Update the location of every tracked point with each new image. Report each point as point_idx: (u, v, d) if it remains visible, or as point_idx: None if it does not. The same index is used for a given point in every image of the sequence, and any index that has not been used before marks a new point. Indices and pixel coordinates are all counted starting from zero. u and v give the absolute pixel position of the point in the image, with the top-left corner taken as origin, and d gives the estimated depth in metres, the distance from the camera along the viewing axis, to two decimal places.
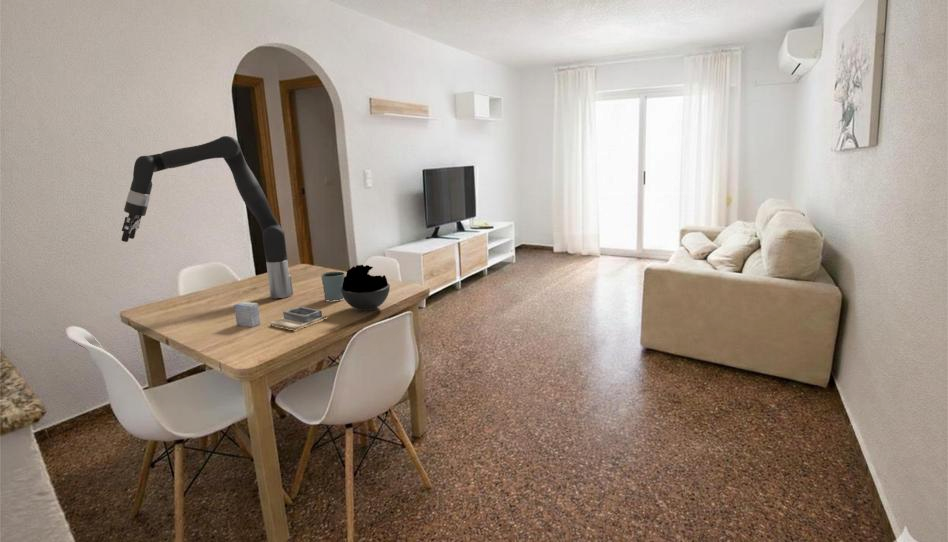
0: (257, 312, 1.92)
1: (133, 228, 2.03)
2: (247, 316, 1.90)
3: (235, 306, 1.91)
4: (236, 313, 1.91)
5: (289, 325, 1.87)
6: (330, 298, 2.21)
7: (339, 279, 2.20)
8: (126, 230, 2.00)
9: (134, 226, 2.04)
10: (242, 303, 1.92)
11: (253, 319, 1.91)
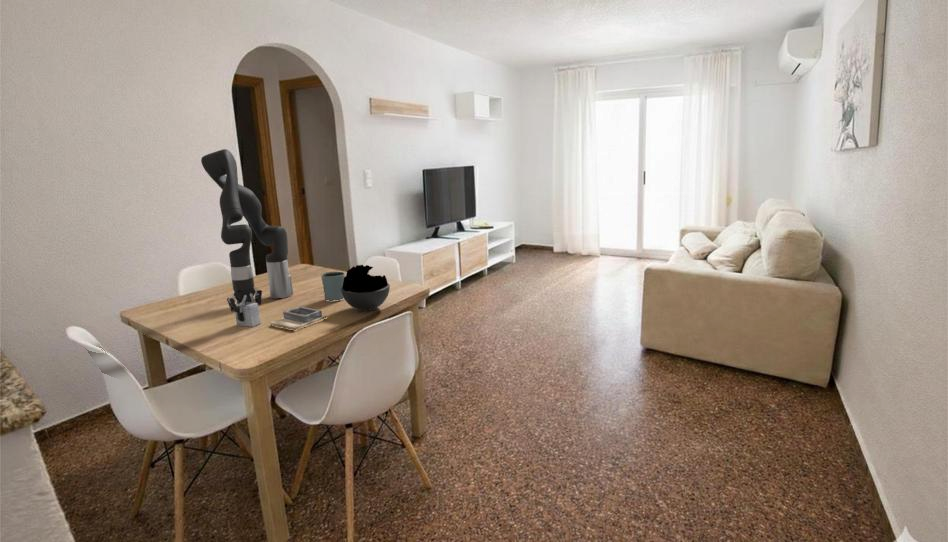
0: (257, 312, 1.92)
1: None
2: (247, 316, 1.90)
3: None
4: (236, 313, 1.91)
5: (289, 325, 1.87)
6: (330, 298, 2.21)
7: (339, 279, 2.20)
8: None
9: None
10: None
11: (253, 319, 1.91)
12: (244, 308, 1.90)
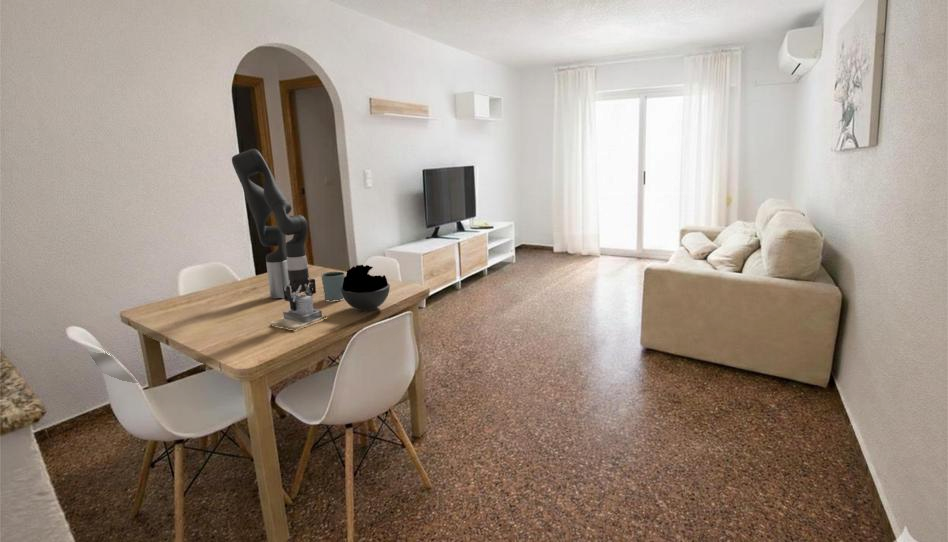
0: (311, 305, 1.95)
1: None
2: (302, 309, 1.93)
3: None
4: None
5: (289, 325, 1.87)
6: (330, 298, 2.21)
7: (339, 279, 2.20)
8: None
9: None
10: (297, 296, 1.95)
11: (307, 312, 1.93)
12: (299, 301, 1.92)
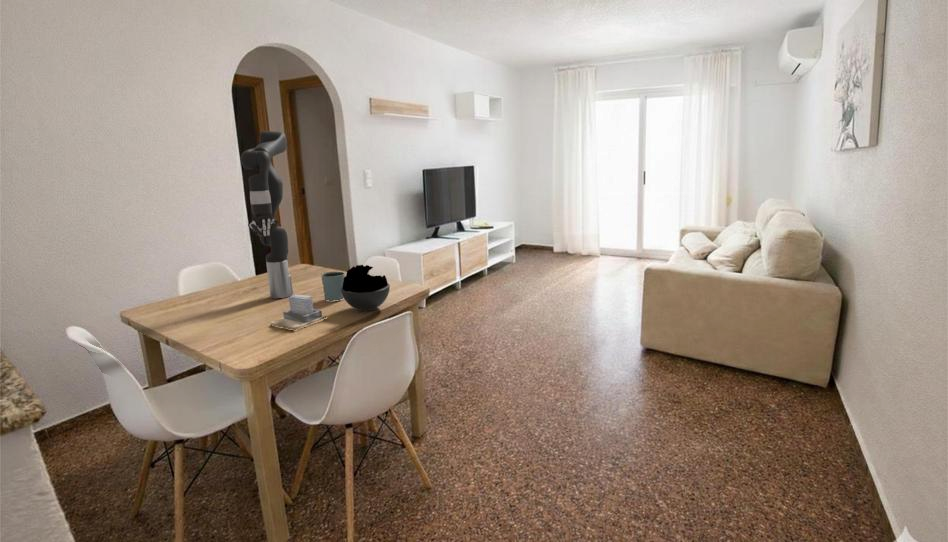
0: (311, 305, 1.95)
1: None
2: (302, 309, 1.93)
3: (290, 299, 1.94)
4: (291, 305, 1.94)
5: (289, 325, 1.87)
6: (330, 298, 2.21)
7: (339, 279, 2.20)
8: None
9: None
10: (297, 296, 1.95)
11: (307, 312, 1.93)
12: (299, 301, 1.92)
